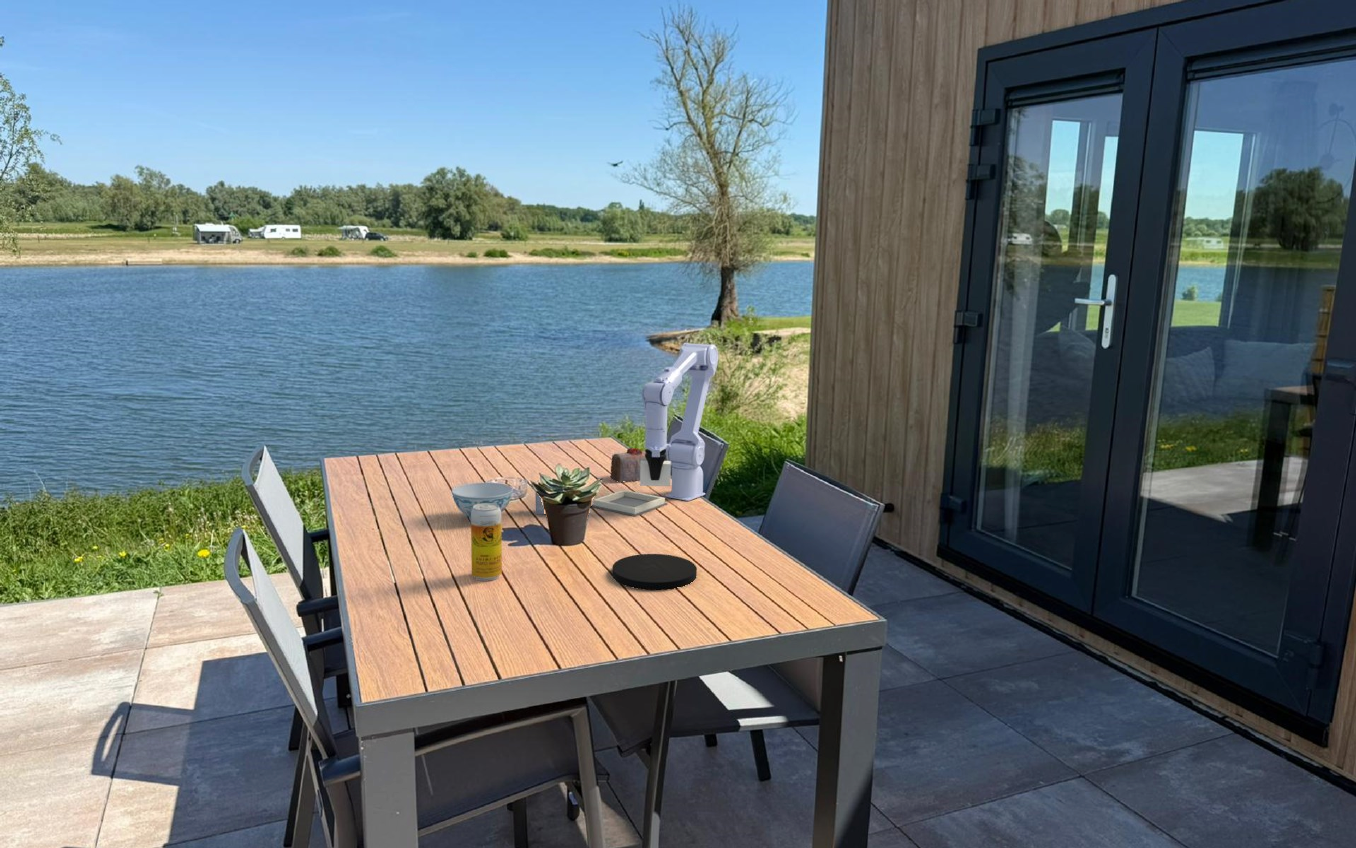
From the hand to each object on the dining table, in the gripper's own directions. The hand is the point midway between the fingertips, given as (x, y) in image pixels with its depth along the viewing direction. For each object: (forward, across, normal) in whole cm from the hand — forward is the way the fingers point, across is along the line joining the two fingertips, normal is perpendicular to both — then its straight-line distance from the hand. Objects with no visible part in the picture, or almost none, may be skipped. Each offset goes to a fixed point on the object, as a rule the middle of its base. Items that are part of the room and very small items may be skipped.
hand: (655, 477), depth 229 cm
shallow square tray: (+9, +4, +7) cm, 12 cm away
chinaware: (+9, -11, +44) cm, 46 cm away
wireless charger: (+10, -50, 0) cm, 51 cm away
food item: (+9, +35, +6) cm, 37 cm away
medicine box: (+9, -4, +27) cm, 29 cm away
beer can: (+9, -53, +35) cm, 64 cm away
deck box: (+2, 0, 0) cm, 2 cm away
